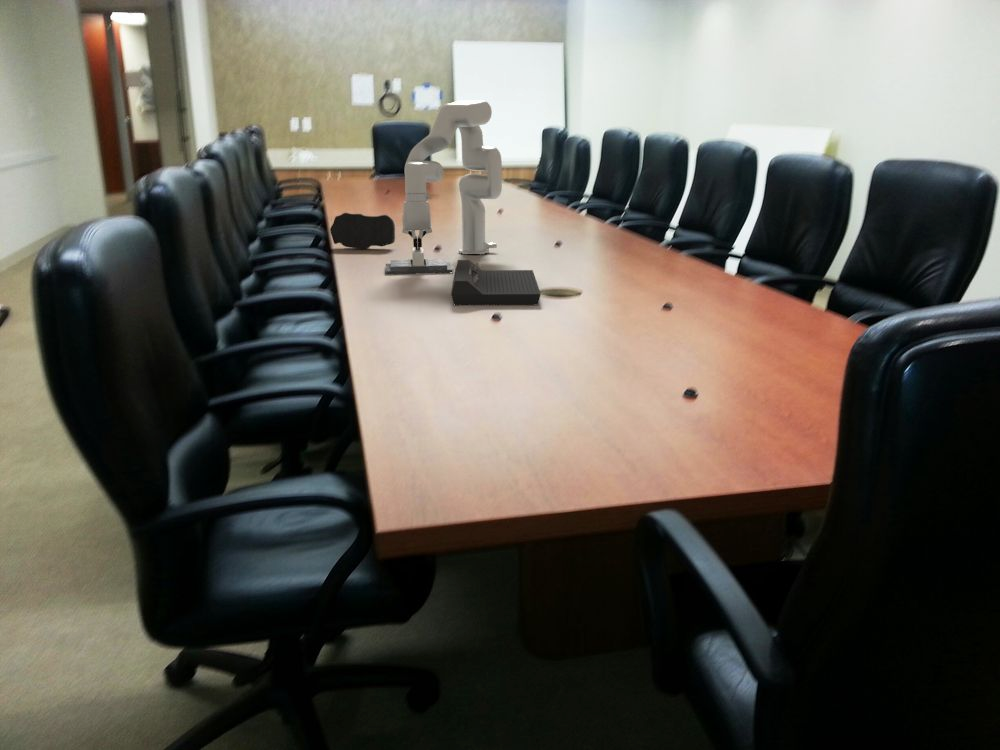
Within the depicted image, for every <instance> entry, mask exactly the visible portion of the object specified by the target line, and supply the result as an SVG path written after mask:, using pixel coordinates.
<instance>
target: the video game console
mask: <svg viewBox="0 0 1000 750" xmlns="http://www.w3.org/2000/svg"><path fill="white" fill-rule="evenodd" d="M479 264H480V263H479V262H476V263H473V262H472V261H471V260H469V259H458V260H457V263H456V266H455V269H454V274H453V280H452V286H451V287H452V288H451V292H450V294H451V295H450V297H451V299H452V304H453V305H454V304H455V305H454V306H534V305H533V304H538V305H539V302H540V298H541V295H542V294H541V291H540V287H539V285H538V282H537V279H536V276H535V273H534V270H533V269H513V270H512V269H508V270H507V269H497V270H496V269H495V270H494V269H492V270H491V269H489V270H488V269H486V270H485V269H482V268H480V266H479Z"/></svg>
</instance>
